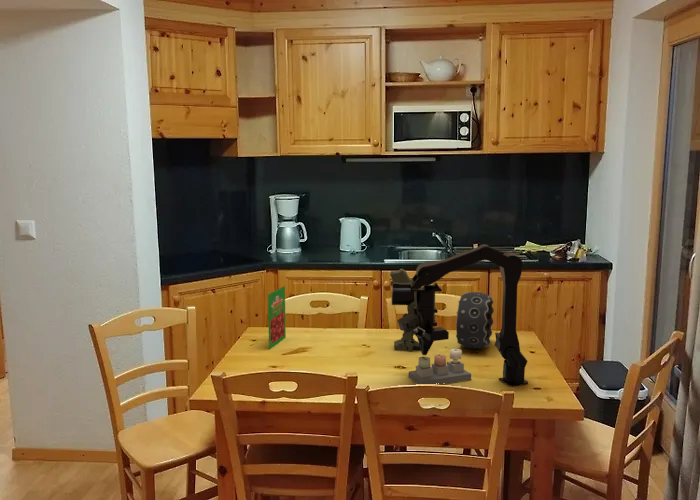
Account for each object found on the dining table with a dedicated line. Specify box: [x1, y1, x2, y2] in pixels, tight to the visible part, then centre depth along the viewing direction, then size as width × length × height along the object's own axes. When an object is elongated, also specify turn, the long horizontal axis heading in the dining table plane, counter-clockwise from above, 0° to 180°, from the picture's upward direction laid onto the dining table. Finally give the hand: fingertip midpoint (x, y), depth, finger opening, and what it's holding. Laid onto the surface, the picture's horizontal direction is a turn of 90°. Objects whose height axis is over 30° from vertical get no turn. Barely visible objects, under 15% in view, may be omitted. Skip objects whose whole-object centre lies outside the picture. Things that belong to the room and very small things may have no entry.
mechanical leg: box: [389, 268, 421, 352], centre depth 229 cm, size 14×7×30 cm, turn 84°
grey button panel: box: [408, 360, 472, 385], centre depth 201 cm, size 9×17×4 cm, turn 112°
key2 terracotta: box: [433, 353, 447, 366], centre depth 201 cm, size 4×4×5 cm
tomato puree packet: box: [267, 285, 287, 350], centre depth 235 cm, size 15×1×20 cm, turn 163°
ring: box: [455, 291, 495, 350], centre depth 231 cm, size 11×20×20 cm, turn 160°
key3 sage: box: [417, 356, 431, 369], centre depth 199 cm, size 4×4×5 cm
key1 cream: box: [449, 348, 463, 364], centre depth 203 cm, size 4×4×5 cm
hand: (424, 355), depth 198 cm, fingers closed
